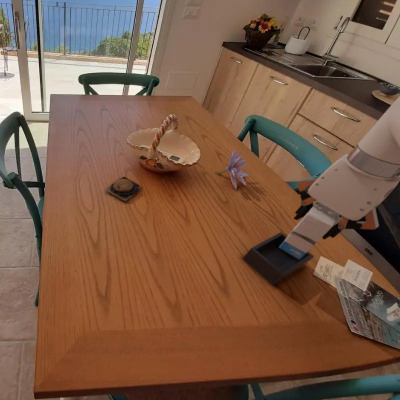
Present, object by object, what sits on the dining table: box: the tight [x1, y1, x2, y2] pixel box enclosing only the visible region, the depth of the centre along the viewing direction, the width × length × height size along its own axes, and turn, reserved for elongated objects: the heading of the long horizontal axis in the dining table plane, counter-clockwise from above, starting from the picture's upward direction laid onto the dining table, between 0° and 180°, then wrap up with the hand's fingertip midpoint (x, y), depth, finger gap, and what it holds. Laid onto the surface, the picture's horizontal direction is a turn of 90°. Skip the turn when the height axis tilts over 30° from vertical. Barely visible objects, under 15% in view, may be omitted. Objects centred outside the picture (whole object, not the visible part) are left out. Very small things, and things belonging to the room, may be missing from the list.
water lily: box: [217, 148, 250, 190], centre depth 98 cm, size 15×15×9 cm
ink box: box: [279, 201, 341, 260], centre depth 62 cm, size 9×5×12 cm, turn 129°
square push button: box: [107, 176, 141, 202], centre depth 90 cm, size 11×8×4 cm
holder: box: [242, 231, 315, 287], centre depth 71 cm, size 9×13×5 cm
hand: (312, 226), depth 61 cm, fingers closed on ink box, 5 cm apart
